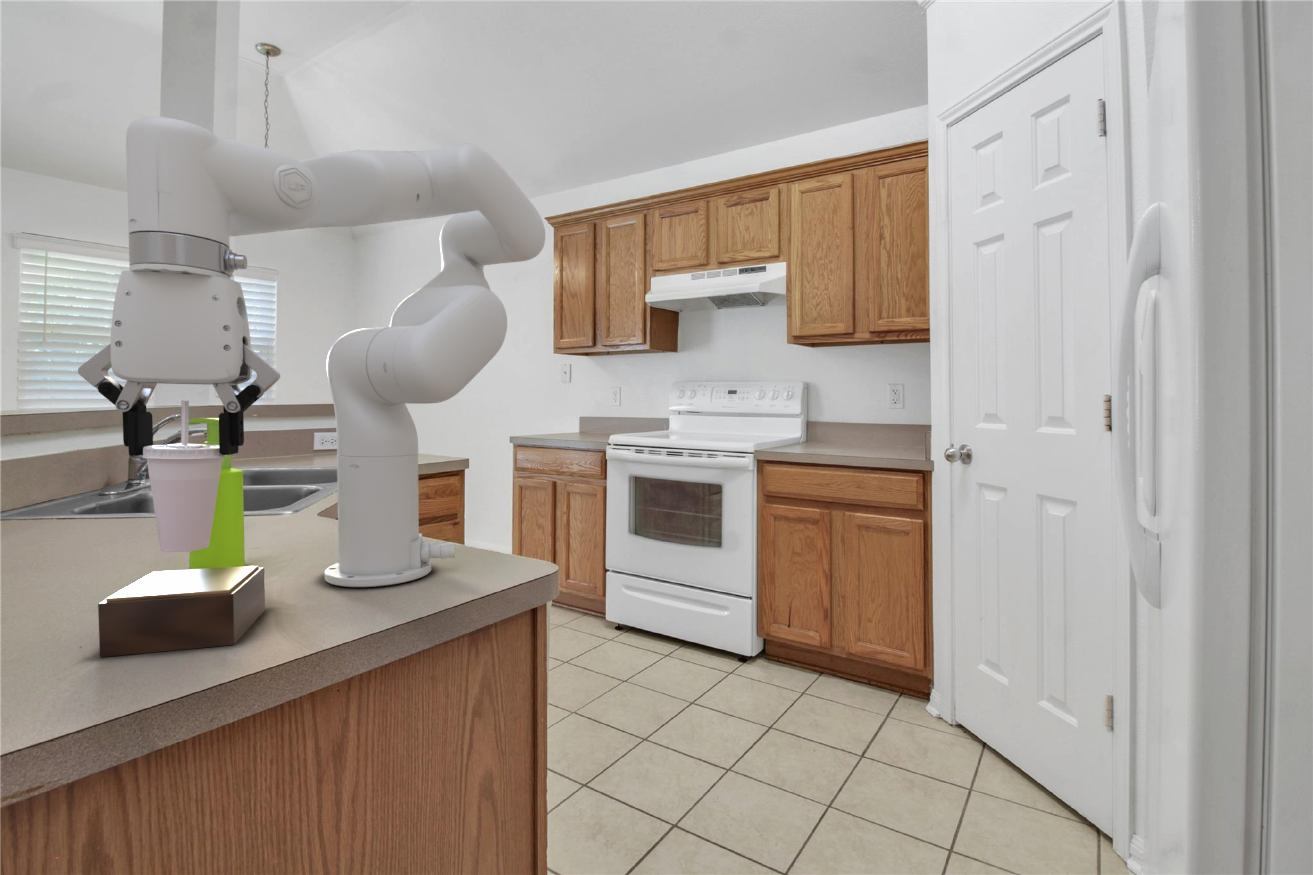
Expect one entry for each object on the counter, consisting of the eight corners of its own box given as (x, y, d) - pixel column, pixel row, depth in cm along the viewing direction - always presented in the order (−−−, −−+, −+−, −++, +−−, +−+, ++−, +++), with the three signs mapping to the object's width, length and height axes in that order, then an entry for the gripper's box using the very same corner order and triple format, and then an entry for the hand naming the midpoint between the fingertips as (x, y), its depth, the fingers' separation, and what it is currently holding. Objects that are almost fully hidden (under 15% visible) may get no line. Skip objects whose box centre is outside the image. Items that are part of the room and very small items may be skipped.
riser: (265, 610, 67) (264, 564, 66) (234, 644, 57) (233, 590, 57) (152, 619, 64) (150, 570, 63) (99, 657, 54) (97, 600, 54)
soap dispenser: (209, 564, 86) (206, 417, 85) (255, 566, 85) (252, 418, 84) (170, 575, 80) (166, 418, 79) (219, 577, 79) (216, 418, 78)
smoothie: (218, 538, 64) (219, 401, 64) (232, 549, 60) (233, 402, 59) (137, 546, 60) (138, 399, 59) (146, 559, 55) (146, 399, 55)
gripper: (295, 277, 65) (298, 450, 66) (89, 264, 60) (95, 452, 60) (276, 262, 58) (279, 456, 59) (40, 244, 52) (47, 459, 53)
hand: (186, 452), depth 59 cm, fingers closed on smoothie, 6 cm apart
